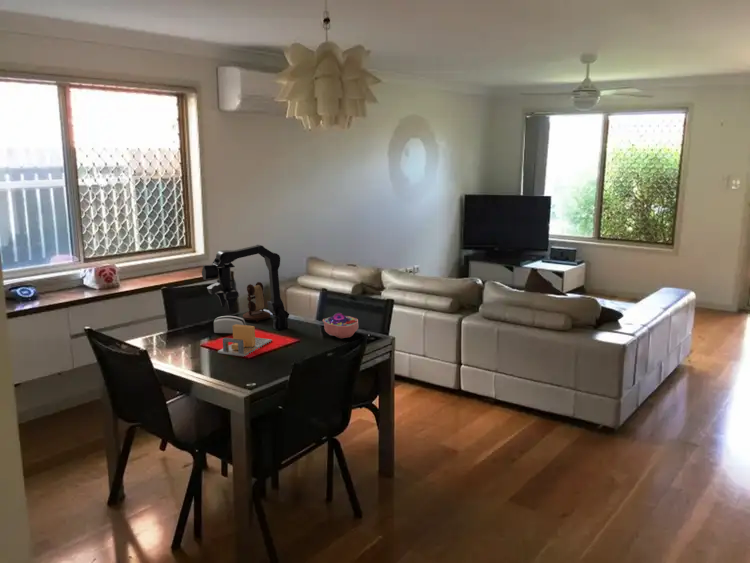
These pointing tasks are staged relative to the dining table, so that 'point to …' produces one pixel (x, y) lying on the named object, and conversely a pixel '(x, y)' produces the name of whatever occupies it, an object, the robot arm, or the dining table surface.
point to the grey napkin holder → (227, 323)
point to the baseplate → (246, 349)
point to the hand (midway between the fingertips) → (226, 308)
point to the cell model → (340, 325)
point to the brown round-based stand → (256, 308)
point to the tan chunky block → (244, 335)
